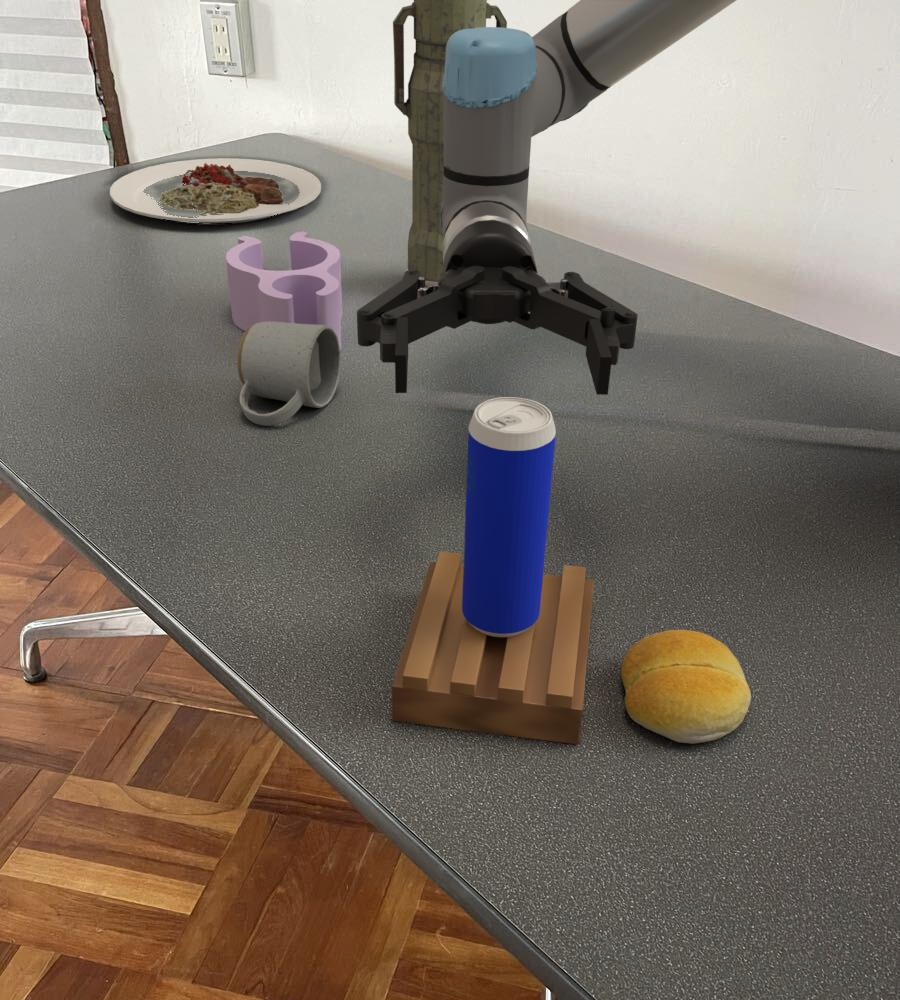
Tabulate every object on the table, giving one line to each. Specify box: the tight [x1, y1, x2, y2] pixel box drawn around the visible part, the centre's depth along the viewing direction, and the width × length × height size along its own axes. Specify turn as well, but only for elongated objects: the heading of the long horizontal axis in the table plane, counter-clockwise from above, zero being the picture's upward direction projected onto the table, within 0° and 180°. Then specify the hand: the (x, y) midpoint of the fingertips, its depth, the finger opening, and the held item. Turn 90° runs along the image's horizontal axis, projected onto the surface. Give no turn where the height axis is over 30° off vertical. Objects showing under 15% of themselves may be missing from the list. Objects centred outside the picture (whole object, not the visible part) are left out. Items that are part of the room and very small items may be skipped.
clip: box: [225, 231, 344, 352], centre depth 118 cm, size 20×12×7 cm, turn 17°
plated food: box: [109, 157, 322, 224], centre depth 155 cm, size 30×30×3 cm
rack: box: [391, 550, 595, 745], centre depth 73 cm, size 12×14×4 cm
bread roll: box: [620, 629, 752, 745], centre depth 70 cm, size 8×9×4 cm
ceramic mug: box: [236, 321, 342, 427], centre depth 102 cm, size 11×8×8 cm
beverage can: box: [462, 396, 557, 637], centre depth 67 cm, size 5×5×15 cm
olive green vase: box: [392, 0, 508, 281], centre depth 119 cm, size 9×12×35 cm
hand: (502, 375), depth 72 cm, fingers open, 13 cm apart
